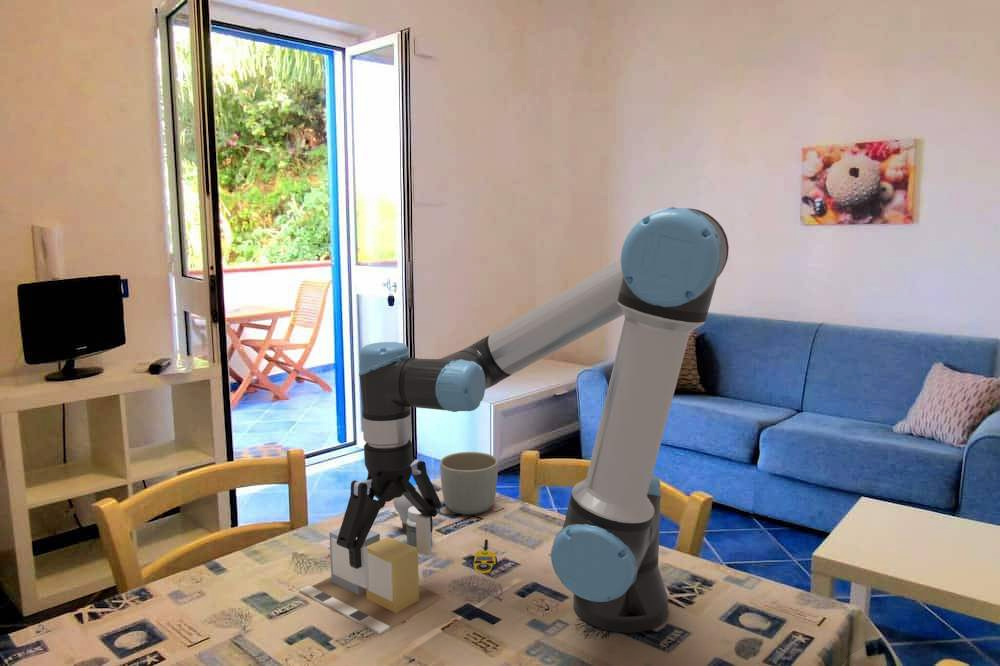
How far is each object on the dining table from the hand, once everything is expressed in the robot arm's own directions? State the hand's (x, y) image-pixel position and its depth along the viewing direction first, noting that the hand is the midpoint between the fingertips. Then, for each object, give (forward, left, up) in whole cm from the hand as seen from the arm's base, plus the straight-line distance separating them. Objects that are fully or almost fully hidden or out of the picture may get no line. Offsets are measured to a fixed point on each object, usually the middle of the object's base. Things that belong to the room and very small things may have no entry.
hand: (394, 568), depth 119 cm
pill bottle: (+11, -17, -7) cm, 22 cm away
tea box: (0, 0, -5) cm, 6 cm away
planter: (+17, -38, -7) cm, 42 cm away
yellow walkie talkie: (-1, -22, -7) cm, 23 cm away
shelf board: (+4, +1, -7) cm, 8 cm away
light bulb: (+18, -21, -7) cm, 29 cm away
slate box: (+9, 0, -5) cm, 11 cm away
